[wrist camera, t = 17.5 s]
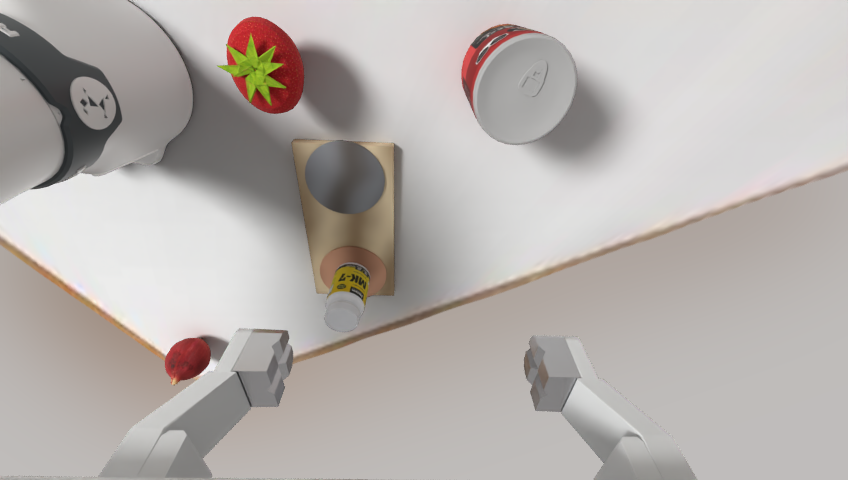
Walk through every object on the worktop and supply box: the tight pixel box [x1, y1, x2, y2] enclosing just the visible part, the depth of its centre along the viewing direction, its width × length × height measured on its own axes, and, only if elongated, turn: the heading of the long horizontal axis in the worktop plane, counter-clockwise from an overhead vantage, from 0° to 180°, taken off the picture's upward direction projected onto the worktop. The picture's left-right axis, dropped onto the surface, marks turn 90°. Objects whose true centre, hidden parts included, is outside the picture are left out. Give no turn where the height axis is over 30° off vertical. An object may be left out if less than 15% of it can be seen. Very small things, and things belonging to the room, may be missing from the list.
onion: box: [165, 338, 211, 385], centre depth 55 cm, size 6×6×8 cm
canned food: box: [462, 24, 577, 145], centre depth 31 cm, size 8×8×11 cm
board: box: [292, 139, 394, 297], centre depth 45 cm, size 11×23×2 cm, turn 177°
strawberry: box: [218, 17, 304, 114], centre depth 31 cm, size 6×8×10 cm
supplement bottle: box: [324, 262, 370, 332], centre depth 45 cm, size 5×5×8 cm
